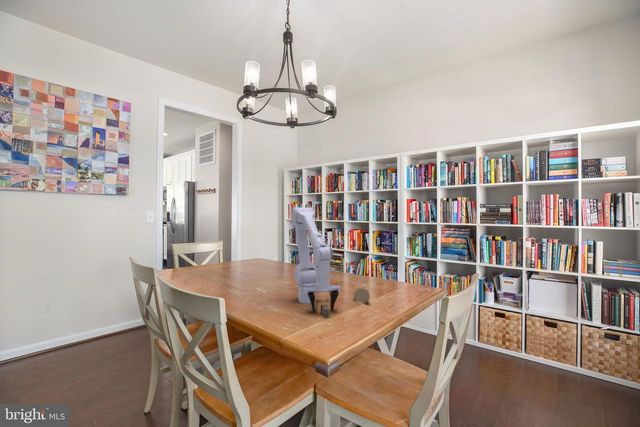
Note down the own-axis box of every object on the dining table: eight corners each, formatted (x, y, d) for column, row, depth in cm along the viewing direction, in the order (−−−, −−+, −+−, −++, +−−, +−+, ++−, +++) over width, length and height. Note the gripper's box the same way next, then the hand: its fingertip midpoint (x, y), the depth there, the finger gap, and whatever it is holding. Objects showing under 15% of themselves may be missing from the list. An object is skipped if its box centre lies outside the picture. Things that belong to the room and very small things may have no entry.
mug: (368, 298, 140) (373, 283, 135) (365, 313, 132) (369, 298, 127) (353, 294, 142) (357, 278, 137) (349, 308, 134) (353, 293, 129)
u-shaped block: (315, 310, 119) (315, 300, 119) (327, 309, 120) (327, 299, 120) (317, 313, 115) (317, 303, 115) (329, 312, 116) (329, 302, 116)
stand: (308, 308, 126) (308, 298, 126) (326, 307, 127) (326, 296, 127) (317, 324, 108) (317, 312, 108) (338, 322, 110) (338, 310, 110)
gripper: (306, 279, 112) (306, 314, 112) (342, 277, 115) (342, 311, 115) (303, 275, 119) (303, 308, 119) (337, 273, 122) (337, 306, 122)
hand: (322, 309), depth 118 cm, fingers open, 7 cm apart
